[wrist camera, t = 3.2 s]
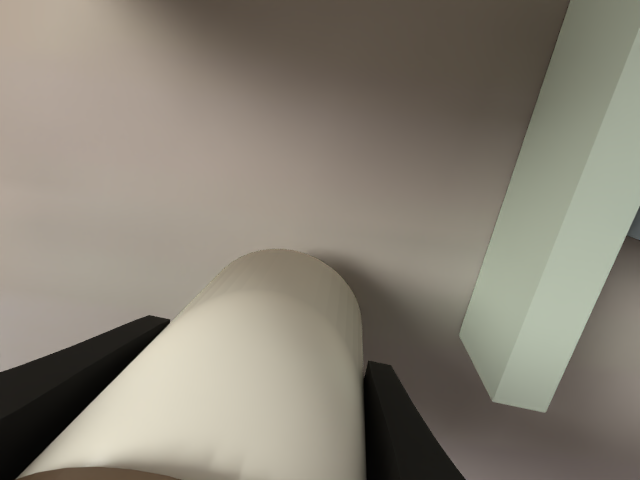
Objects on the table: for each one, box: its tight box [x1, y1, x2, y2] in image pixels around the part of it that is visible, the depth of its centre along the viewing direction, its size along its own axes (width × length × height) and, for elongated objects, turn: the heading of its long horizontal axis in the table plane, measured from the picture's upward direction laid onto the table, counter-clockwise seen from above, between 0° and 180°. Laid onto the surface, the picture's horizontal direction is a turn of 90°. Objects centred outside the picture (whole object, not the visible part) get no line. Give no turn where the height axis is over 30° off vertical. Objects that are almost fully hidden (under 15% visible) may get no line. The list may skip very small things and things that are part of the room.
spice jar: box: [15, 249, 367, 480], centre depth 8 cm, size 6×6×9 cm
